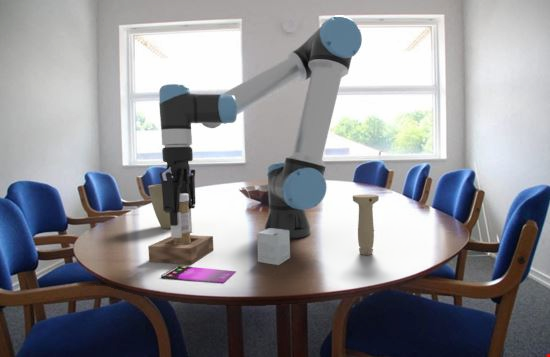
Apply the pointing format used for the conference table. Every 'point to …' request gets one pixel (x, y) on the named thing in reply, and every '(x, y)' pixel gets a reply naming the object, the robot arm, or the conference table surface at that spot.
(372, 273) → the conference table surface
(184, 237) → the sprinkles bottle
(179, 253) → the bore block
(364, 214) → the handle
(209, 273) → the smartphone
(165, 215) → the plant pot
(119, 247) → the conference table surface
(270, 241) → the skincare box
